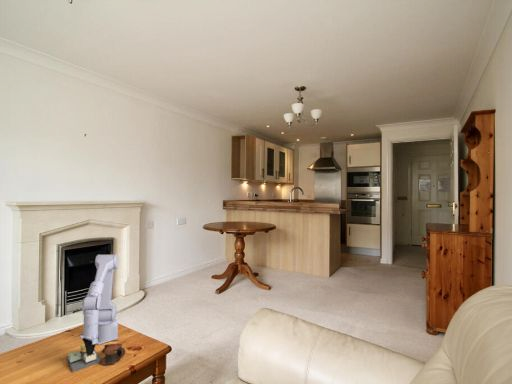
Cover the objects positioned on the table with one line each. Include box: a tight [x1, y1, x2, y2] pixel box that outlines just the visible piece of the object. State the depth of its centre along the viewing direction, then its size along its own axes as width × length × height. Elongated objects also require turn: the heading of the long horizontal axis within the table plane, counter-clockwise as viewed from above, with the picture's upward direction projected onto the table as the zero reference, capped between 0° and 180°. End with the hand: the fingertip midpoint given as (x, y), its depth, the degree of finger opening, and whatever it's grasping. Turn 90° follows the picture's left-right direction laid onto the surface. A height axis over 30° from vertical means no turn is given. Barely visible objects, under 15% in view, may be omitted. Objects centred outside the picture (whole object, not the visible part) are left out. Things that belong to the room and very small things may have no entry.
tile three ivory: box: [84, 352, 96, 362], centre depth 124 cm, size 4×4×2 cm
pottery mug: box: [101, 342, 126, 366], centre depth 128 cm, size 12×10×8 cm
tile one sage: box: [67, 349, 81, 363], centre depth 124 cm, size 4×4×2 cm
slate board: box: [65, 348, 102, 373], centre depth 126 cm, size 11×13×1 cm
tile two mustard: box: [80, 343, 86, 353], centre depth 130 cm, size 4×4×2 cm
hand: (89, 354), depth 124 cm, fingers closed, pressing on tile three ivory
